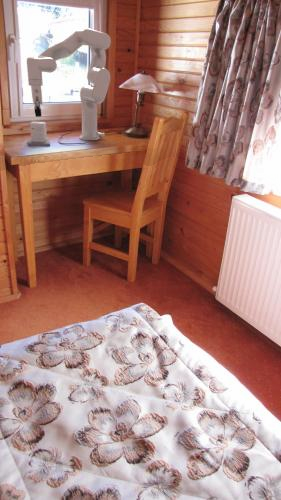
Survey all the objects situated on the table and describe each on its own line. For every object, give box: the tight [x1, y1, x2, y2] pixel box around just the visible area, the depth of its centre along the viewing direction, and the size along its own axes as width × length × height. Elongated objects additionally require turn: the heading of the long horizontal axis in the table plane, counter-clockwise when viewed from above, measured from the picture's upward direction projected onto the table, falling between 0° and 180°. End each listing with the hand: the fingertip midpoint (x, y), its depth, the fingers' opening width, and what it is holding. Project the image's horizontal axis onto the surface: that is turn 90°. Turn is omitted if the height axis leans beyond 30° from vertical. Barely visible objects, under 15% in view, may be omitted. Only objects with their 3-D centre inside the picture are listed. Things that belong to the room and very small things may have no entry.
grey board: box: [27, 138, 51, 147], centre depth 231 cm, size 12×12×2 cm
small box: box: [29, 121, 48, 142], centre depth 229 cm, size 8×6×10 cm
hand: (38, 115), depth 225 cm, fingers open, 9 cm apart
